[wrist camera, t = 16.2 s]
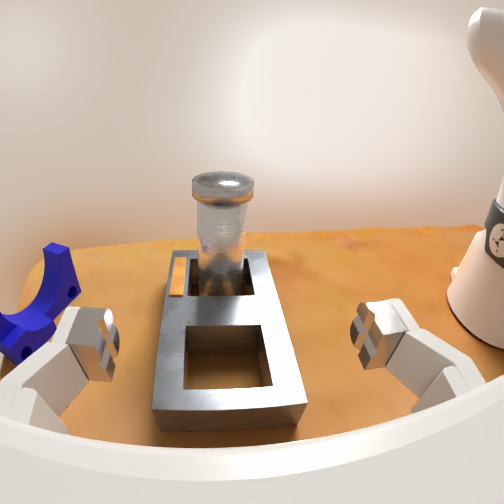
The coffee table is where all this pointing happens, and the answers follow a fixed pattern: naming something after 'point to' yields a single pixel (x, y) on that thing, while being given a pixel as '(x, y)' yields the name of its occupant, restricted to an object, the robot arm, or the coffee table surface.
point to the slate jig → (225, 341)
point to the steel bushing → (221, 230)
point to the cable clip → (40, 307)
